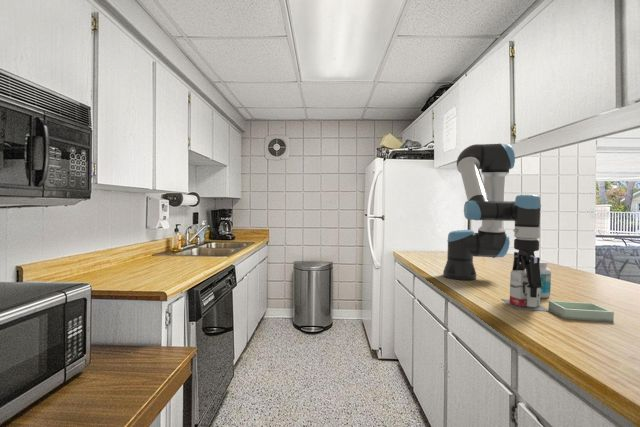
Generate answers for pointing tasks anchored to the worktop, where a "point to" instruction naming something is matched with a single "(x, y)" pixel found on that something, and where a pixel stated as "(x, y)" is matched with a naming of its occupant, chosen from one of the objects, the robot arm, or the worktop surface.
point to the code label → (538, 308)
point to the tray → (581, 311)
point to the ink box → (520, 288)
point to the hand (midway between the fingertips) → (524, 302)
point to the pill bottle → (545, 280)
